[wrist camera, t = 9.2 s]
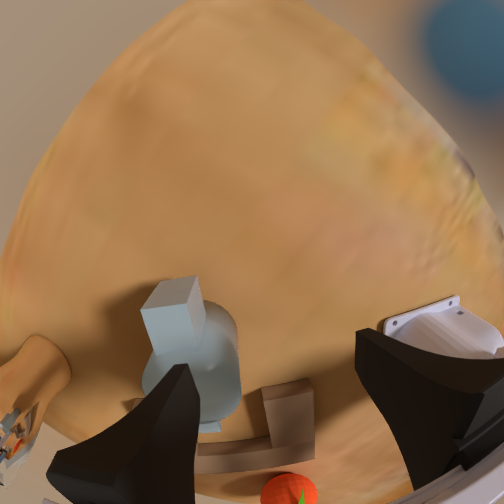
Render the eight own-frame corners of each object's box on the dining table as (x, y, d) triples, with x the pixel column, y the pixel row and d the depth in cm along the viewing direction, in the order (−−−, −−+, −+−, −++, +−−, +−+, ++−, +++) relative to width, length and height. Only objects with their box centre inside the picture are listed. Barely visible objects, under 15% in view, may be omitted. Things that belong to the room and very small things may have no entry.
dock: (308, 378, 22) (313, 391, 20) (311, 447, 25) (314, 458, 23) (135, 398, 21) (130, 410, 20) (173, 462, 24) (172, 473, 22)
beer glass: (63, 397, 21) (7, 494, 7) (18, 354, 20) (-56, 434, 5) (85, 367, 20) (12, 486, 6) (33, 317, 19) (-66, 406, 4)
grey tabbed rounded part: (244, 365, 21) (251, 427, 14) (179, 373, 21) (165, 434, 14) (223, 260, 19) (219, 299, 12) (147, 273, 19) (111, 314, 12)
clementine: (266, 460, 25) (273, 508, 18) (321, 457, 26) (336, 501, 19) (252, 488, 26) (257, 529, 19) (301, 486, 27) (311, 524, 20)
